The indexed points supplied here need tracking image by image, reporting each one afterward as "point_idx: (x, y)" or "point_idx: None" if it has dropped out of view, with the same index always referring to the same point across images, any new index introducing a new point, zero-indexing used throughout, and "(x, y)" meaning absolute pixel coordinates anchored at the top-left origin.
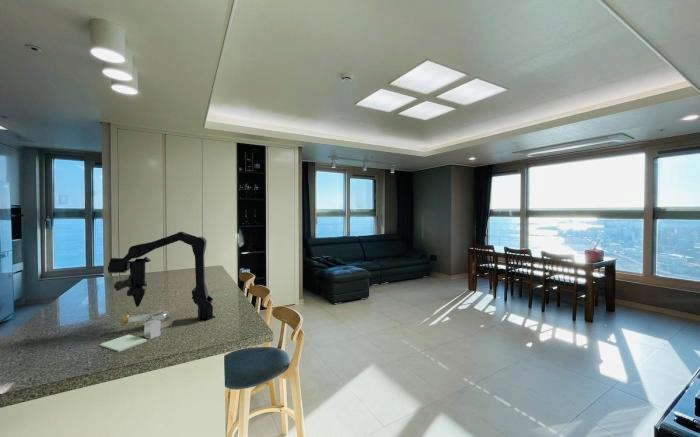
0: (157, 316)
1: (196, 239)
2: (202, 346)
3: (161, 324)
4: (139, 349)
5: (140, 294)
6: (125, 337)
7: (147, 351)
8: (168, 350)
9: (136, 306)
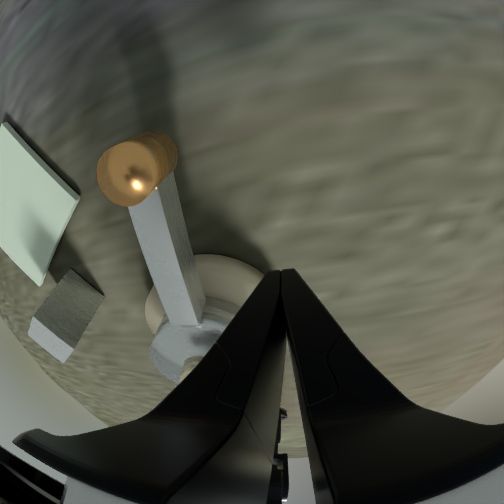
0: (152, 354)
1: None
2: (52, 374)
3: (154, 333)
4: (5, 269)
5: (16, 458)
6: (46, 200)
7: (4, 288)
8: (20, 327)
9: (266, 276)
